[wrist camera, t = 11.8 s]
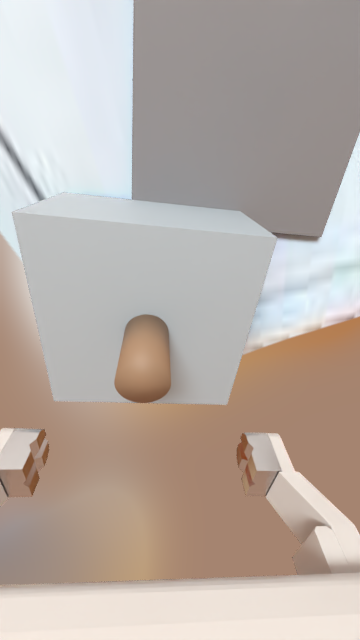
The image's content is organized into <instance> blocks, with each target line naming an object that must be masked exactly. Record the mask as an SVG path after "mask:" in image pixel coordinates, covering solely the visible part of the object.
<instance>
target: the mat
mask: <svg viewBox="0 0 360 640" xmlns="http://www.w3.org/2000/svg"><path fill="white" fill-rule="evenodd" d="M359 132H360V0H134V23H133V130H132V200H140V201H149V202H159V203H168V204H177V205H187V206H196V207H206V208H215V209H224V210H234V211H241V212H242V213H244V214H245V215H246V216H248V217H249V218H251V219H252V220H253V221H255V222H256V223H258V224H259V225H260V226H262V227H263V228H265V229H266V230H268V231H269V232H274V233H284V234H295V235H305V236H316V237H321V236H322V234H323V231H324V228H325V225H326V223H327V220H328V217H329V214H330V212H331V209H332V206H333V203H334V201H335V198H336V195H337V192H338V190H339V187H340V184H341V181H342V179H343V176H344V173H345V170H346V168H347V165H348V162H349V159H350V157H351V154H352V151H353V148H354V146H355V143H356V140H357V137H358V135H359Z"/></svg>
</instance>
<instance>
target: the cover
mask: <svg viewBox="0 0 360 640" xmlns="http://www.w3.org/2000/svg"><path fill="white" fill-rule="evenodd" d="M12 215H13V220H14V224H15V229H16V233H17V238H18V242H19V246H20V251H21V255H22V260H23V264H24V269H25V273H26V278H27V282H28V287H29V291H30V296H31V300H32V305H33V309H34V314H35V318H36V322H37V327H38V332H39V336H40V341H41V345H42V349H43V354H44V359H45V363H46V368H47V372H48V376H49V381H50V386H51V390H52V395H53V399H54V401H75V402H120V403H166V404H167V403H168V404H213V405H227V403H228V400H229V396H230V393H231V390H232V387H233V383H234V380H235V377H236V373H237V370H238V367H239V363H240V360H241V357H242V354H243V350H244V347H245V344H246V340H247V337H248V334H249V330H250V327H251V324H252V321H253V317H254V314H255V311H256V307H257V304H258V301H259V297H260V294H261V291H262V288H263V284H264V281H265V278H266V274H267V271H268V268H269V264H270V261H271V258H272V255H273V251H274V248H275V245H276V241H277V237H276V236H275V235H273V234H272V233H270V232H269V231H268V230H266V229H265V228H263V227H262V226H260V225H259V224H258V223H256V222H255V221H253V220H252V219H251V218H249V217H248V216H246V215H245V214H244V213H242V212H241V211H234V210H224V209H215V208H206V207H196V206H187V205H177V204H168V203H159V202H149V201H140V200H130V199H121V198H112V197H102V196H93V195H84V194H74V193H65V192H63V193H60V194H58V195H55V196H52V197H50V198H47V199H44V200H42V201H39V202H37V203H34V204H31V205H29V206H26V207H24V208H21V209H18V210H16V211H13V212H12Z"/></svg>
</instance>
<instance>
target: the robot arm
mask: <svg viewBox="0 0 360 640" xmlns="http://www.w3.org/2000/svg"><path fill="white" fill-rule="evenodd" d="M45 436H46V432H45V430H44V429H20V428H2V430H0V507H1V506H2V505H3V504H4V503H5V502H6V501H7V499H8V497H32V495H33V493H34V491H35V488H36V486H37V483H38V481H39V475H38V471H40V470H41V469H42V468H43V467H44V466H45V463H46V460H47V457H48V452H49V444H48V441H47V440H45V439H44V438H45ZM241 441H242V442H241V443H239V444H238V447H237V463H238V467H239V468H240V470H242V472H243V476H242V483H243V487H244V491H245V495H246V496H266V499H267V500H268V501H269V502H270V504H271V505H272V506H273V508H274V509H275V510H276V512H277V513H278V514H279V516H280V517H281V518H282V520H283V521H284V522H285V524H286V525H287V526H288V527H289V529H290V530H291V531H292V533H293V534H294V536H295V537H296V538H297V539H298V541H299V542H300V543H301V546H300V547H299V548H298V549H297V550H296V552H295V553H294V555H293V557H292V558H293V562H294V565H295V568H296V571H297V575H278V576H277V575H276V576H250V577H221V578H191V579H163V580H137V581H136V580H135V581H108V582H79V583H52V584H22V585H0V640H360V535H359V533H358V531H357V529H356V527H355V525H354V524H353V523H352V522H351V521H350V520H349V519H348V518H347V517H346V516H345V515H344V514H343V513H342V512H340V511H339V510H338V509H337V508H336V507H335V506H334V505H333V504H332V503H331V502H330V501H329V500H328V499H327V498H326V497H325V496H324V495H322V493H321V492H319V491H318V490H317V489H316V488H315V487H314V486H313V485H312V484H311V483H310V482H309V481H308V480H307V479H306V478H305V477H303V475H302V474H300V473H299V472H295V470H294V467H293V465H292V463H291V460H290V458H289V456H288V454H287V451H286V449H285V447H284V444H283V442H282V440H281V437H280V436H279V434H277V433H243V434H242V435H241Z"/></svg>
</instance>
